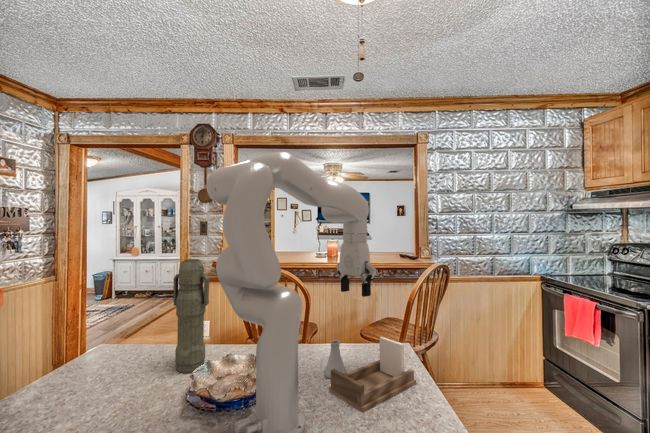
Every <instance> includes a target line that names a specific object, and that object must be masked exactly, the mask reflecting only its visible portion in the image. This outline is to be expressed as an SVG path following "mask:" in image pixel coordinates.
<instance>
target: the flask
mask: <svg viewBox="0 0 650 433" xmlns="http://www.w3.org/2000/svg"><path fill="white" fill-rule="evenodd" d="M329 343H330V352H329V353H330V354H329V357H328V359H327V363H326V365H325V369H324V372H323V375H324V377H325V378H327V379H329V380H331V370H333V369H335V370H337V371H339V372H341V373H343V374H346V373H347V370H346V367H345V364H344V362H343V358H342V356H341V350H340V345H341V341H340V340H337V339H331V340H330V341H329Z"/></svg>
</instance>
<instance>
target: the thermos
mask: <svg viewBox="0 0 650 433" xmlns="http://www.w3.org/2000/svg"><path fill="white" fill-rule="evenodd" d="M204 271H205V268H204V264H203V260H200V259H198V258H197V259H195V258H194V259H190V258H189V259H184V260H182V261H181V263H180V265H179V268H178V273H177V274H176V275H174V277H173V296H172V297H173V306H175V311H176V312H175V315H176V317H177V338H176V339H177V340H176V341H177V345H176V347H175V351H174V352H175V355H174V356H175V359H174V360H175V372H176V371H177V372H179V373H178V374H180V373H183V374H182V375H188V374H193V373H192V372H193V371H194V370H195V369H196V368H198V367H199V366H201V365H203V364H204V363H205V360H206V344H205V338H204V337H205V336H204V335H205V334H204V332H205V329H204V327H205V322H204V321H205V320H204V318H205V313H206V307H207V306H208V305H209V303H210V297H209V296H210V277H209V275H208V274H205V272H204ZM177 372H176V373H177Z"/></svg>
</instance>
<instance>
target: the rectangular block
mask: <svg viewBox="0 0 650 433" xmlns="http://www.w3.org/2000/svg"><path fill="white" fill-rule="evenodd" d="M378 340H379V360H380V371H382V372H384V373H386V374H389V375H391V376H393V377H395V376H397V375H399V374H401V373H403V372H405V350H404V349H405V344H404V343H402V342H399V341H396V340H392V339H389V338H387V337H384V336H380V337H379V339H378Z"/></svg>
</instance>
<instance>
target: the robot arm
mask: <svg viewBox="0 0 650 433" xmlns="http://www.w3.org/2000/svg"><path fill="white" fill-rule="evenodd" d="M273 189H279V190H281V191H283V192H284V193H286V194H288V195H290V196H292V197H293V198H295V199H296V200H298V201H299V202H301V203H302V204H304V205H308V206H312V207H316V208H318V207H319V208H321V210H320V211H321V215H322V217H323V218H324V219H325V221H327V222H329V223H334V224H338V223H339V224H342V229H343V230H342V241H343V242H342V243H341V247H340V251H339V253H340V254H339V263H337V264H336V269H337V274H338V276H339V279H340V292H342V293H344V292H345V293H346V292H350V278H349V277H350V276H351V277H360V278H361V281H362V283H361V296H362V297H364V298H365V297H369V296H372V294H371V293H372V291H371V288H372V286H371V285H372V283H373V280H374V279H376V278H375V277H376V273H377V272H378V271H377V268H376V267H374V266H373V265H372V264H371V255H370V249H369V243H368V226H367V225H368V221H367V218H368V216H369V212H370V208H369V207H370V206H369V203H368V201H367V199H366V198H365V197H364V195H362V193H360V192H359V191H358V190H357V189H355V188H353V187H352V186H349V185H348V184H345V183H342V182H339V181H335V180H332V179H330V178H327V177H323V176H321V175H320V174H318V173H317V172H316V171H314V170H313V169H312V168H310V167H309V166H308V165H307V164H305V163H304V162H302V161H301V160H300V159H298V157H296V156H295V155H294V154H291V153H290V152H287V151H276V152H270V153H266V154H262V155H258V156H255V157H252V158H249V159H247V160H244V161H240V162H237V163H234V164H230V165H227V166H223V167H220V168H218V169H215V170H214V171H212V172H211V173H210V175H209V176H208V178H207V181H206V191H207V194H208V196H209V197H210V199H211V200H212V201H213V202H214V203H215V204H219V205H223V206H225V209H224V212H223V217H222V233H223V236H224V240H225V241H226V244H227V247H225V248H224V249H223V250H222V251H221V252H220V253H219V255H218V257H217V260H216V266H215V267H216V269H215V270H216V276H217V278H218V281H219V284H220V286H221V288H222V289H223V292H224V293H225V296H226V298H227V300H228V302H229V303H230V306H231V307H232V309H233V311H234V312H235V315H237V316H238V318H240V319H241V320H243V321H245V322H247V323H251V324H255V325H258V326H261V327H262V331H261V334H260V336H259V338H258V339H257V340H258V341H257V344H256V348H255V377H256V378H255V407H254V408H251V414H250V415H248V416H247V418H245V419H241V420H239V421H237V422H234V431H235V432H236V433H241V432H243V431H245V433H304V431H305V428H306V417H305V415H304V414H303V413H302V412H301V411H300V410H299V335H300V333H299V332H300V326H301V320H302V314H303V308H304V307H303V300H302V298H301V296H300V294H299V293H298V292H297V291H296V290H295V289H292V288H290V287H289V286H284V285H278V282H279V281H280V279H281V276H282V269H281V268H282V267H281V262H280V261H279V258H278V256H277V253H276V249H275V248H274V246H273V243H272V240H271V239H270V235H269V234H268V230H267V228H266V225H265V221H264V220H265V218H264V216H265V210H266V206H267V202H268V200H269V197H270V196H271V194H272V191H273Z"/></svg>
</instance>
